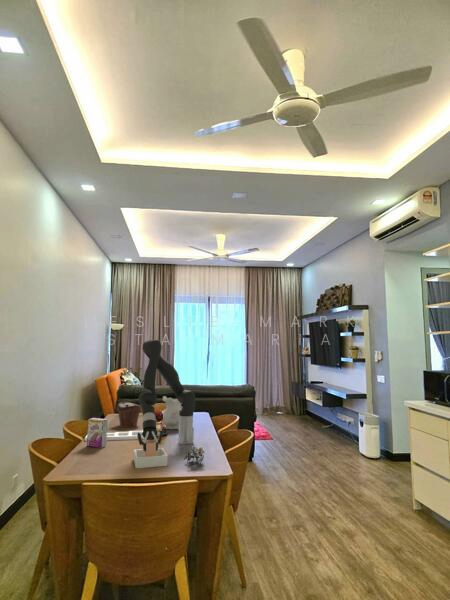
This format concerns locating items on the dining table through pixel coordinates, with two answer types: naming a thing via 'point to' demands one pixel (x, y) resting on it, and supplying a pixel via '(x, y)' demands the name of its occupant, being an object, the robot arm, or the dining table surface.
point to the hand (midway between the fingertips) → (150, 450)
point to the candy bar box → (97, 432)
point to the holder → (122, 435)
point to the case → (128, 414)
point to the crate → (150, 459)
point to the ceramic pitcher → (171, 413)
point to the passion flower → (195, 454)
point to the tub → (150, 448)
